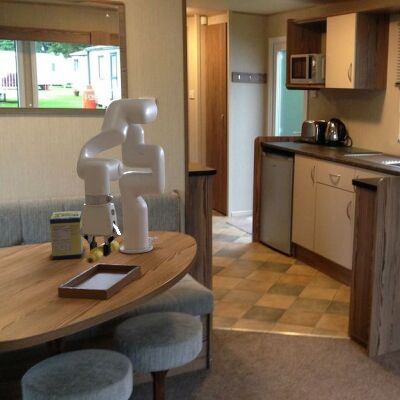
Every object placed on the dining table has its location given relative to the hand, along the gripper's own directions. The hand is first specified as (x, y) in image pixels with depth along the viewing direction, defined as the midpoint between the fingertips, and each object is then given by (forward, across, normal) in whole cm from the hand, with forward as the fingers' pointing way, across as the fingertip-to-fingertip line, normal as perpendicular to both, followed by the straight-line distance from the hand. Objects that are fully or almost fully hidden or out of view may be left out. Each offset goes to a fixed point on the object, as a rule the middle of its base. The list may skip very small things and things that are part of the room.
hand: (100, 254), depth 181 cm
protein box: (+10, +29, -32) cm, 44 cm away
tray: (+10, 0, 0) cm, 10 cm away
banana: (+1, 0, 0) cm, 1 cm away
